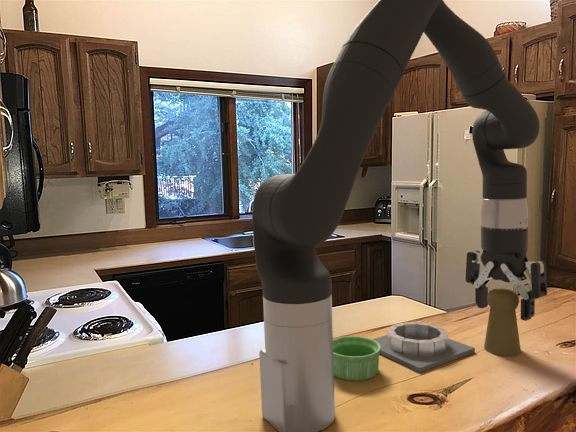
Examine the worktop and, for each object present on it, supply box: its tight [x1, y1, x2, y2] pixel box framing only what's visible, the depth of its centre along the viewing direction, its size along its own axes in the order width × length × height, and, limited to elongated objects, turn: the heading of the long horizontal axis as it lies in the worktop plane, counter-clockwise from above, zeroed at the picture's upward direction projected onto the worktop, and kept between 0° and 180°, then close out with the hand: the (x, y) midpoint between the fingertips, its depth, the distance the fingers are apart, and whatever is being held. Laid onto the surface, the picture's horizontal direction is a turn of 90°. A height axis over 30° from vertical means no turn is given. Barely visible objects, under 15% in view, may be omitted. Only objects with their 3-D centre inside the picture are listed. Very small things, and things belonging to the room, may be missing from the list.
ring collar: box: [386, 321, 449, 357], centre depth 85 cm, size 10×10×2 cm
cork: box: [483, 288, 522, 357], centre depth 83 cm, size 6×6×11 cm
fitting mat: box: [371, 334, 476, 374], centre depth 85 cm, size 14×14×1 cm
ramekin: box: [333, 335, 381, 382], centre depth 77 cm, size 9×9×4 cm
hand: (503, 313), depth 83 cm, fingers open, 8 cm apart
